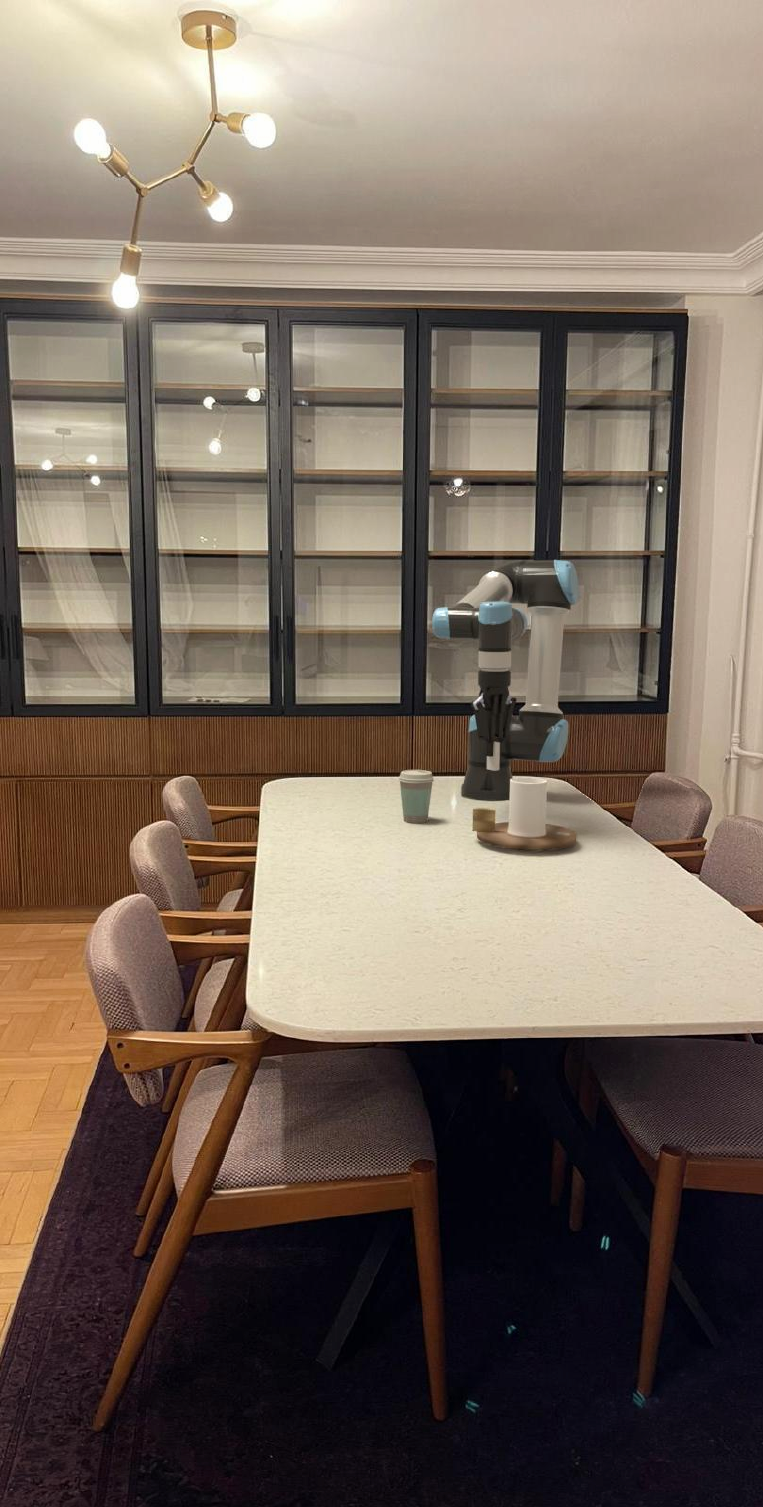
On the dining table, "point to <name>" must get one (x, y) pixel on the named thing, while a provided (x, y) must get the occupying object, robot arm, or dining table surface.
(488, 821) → the turntable
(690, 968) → the dining table surface
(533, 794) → the mug
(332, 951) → the dining table surface
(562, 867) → the dining table surface
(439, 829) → the dining table surface
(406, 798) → the coffee cup
